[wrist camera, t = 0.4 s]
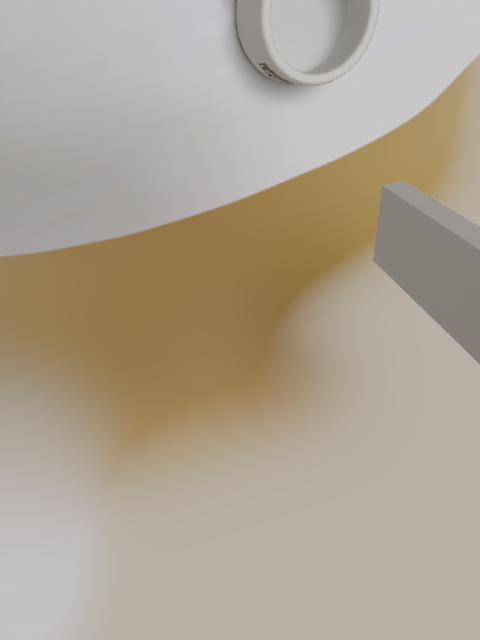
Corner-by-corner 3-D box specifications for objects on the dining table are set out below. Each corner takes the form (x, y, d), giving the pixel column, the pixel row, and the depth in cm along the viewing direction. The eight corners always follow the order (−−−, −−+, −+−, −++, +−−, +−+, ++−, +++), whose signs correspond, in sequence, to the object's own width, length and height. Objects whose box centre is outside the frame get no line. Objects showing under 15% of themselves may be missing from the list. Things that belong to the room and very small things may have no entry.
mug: (373, -18, 35) (415, -22, 30) (309, 103, 39) (337, 117, 34) (244, -126, 29) (270, -152, 25) (185, 28, 33) (198, 31, 29)
